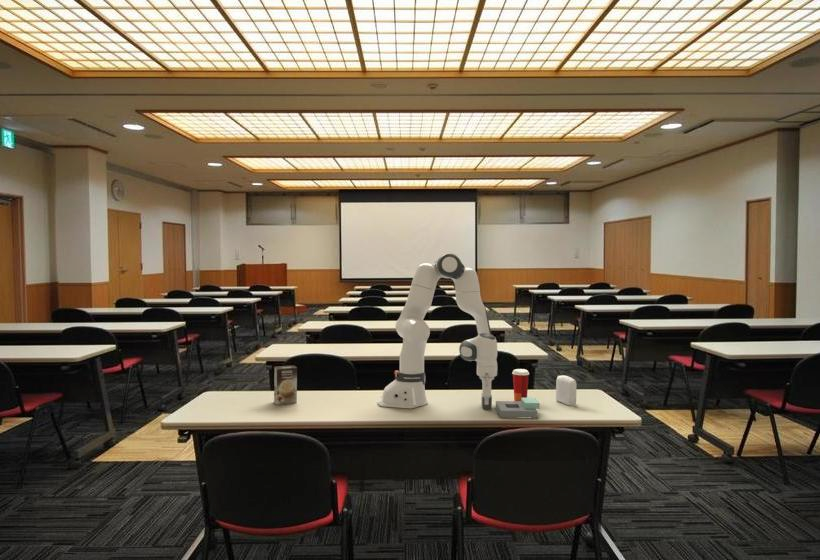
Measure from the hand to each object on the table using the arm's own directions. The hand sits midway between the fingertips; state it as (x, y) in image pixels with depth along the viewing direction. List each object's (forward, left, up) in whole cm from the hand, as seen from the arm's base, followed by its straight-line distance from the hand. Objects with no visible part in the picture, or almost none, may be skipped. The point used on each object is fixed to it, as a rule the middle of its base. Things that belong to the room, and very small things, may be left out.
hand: (486, 402), depth 218 cm
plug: (0, 0, -2) cm, 2 cm away
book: (+37, +9, -3) cm, 38 cm away
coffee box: (-90, +4, -3) cm, 90 cm away
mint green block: (+17, -7, +1) cm, 19 cm away
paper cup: (+17, +12, -2) cm, 21 cm away
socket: (+11, -7, -2) cm, 14 cm away
